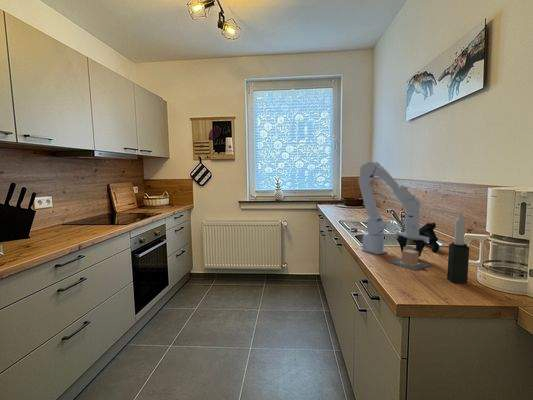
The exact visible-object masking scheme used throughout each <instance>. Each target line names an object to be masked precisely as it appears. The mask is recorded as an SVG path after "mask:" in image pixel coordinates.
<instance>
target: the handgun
mask: <svg viewBox="0 0 533 400" xmlns="http://www.w3.org/2000/svg"><path fill="white" fill-rule="evenodd" d="M436 225H437V223H435V222H427V223H425V224H424V225H423V226H421V227H419V235H421V236H425V237H429V242H427V243H428V245H429V246H430V250H431V252H433V253H438V252H439V250H440V244H439V243H438V241H439V239H438V237H437V234H436V232H435V231H434V230H435V229H436V227H437V226H436ZM411 240H412V242H414V243H415V242H416V241H418V240H414V239H411Z"/></svg>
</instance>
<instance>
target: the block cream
mask: <svg viewBox="0 0 533 400" xmlns="http://www.w3.org/2000/svg"><path fill="white" fill-rule="evenodd" d="M408 249H409V250H413V251H416V246H414V245H410V244H409V245H406V246H405V247H404V248H403V251H404V250H408Z"/></svg>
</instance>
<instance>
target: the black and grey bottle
mask: <svg viewBox="0 0 533 400" xmlns="http://www.w3.org/2000/svg"><path fill="white" fill-rule="evenodd" d="M454 222H455V224H454V241H453V242H451V243H449V244H448V259H447V278H446V279H447V280H449V281H450V283H453V284H462V285H465V284H466V285H467V284H468V276H469V261H470V247H469V246H468V244H466V243H465V237H466V236H465V235H466V220H465V219H464V216H463V211H459V213H458V217H457V218H456V220H455V221H454Z"/></svg>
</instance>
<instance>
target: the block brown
mask: <svg viewBox="0 0 533 400" xmlns="http://www.w3.org/2000/svg"><path fill="white" fill-rule="evenodd" d="M418 256H419V252H418V251H413V250H409V249H408V250H404V251H402V252H401V258H402V263H406V264H409V265H414V264H418V261H419V257H418Z"/></svg>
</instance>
